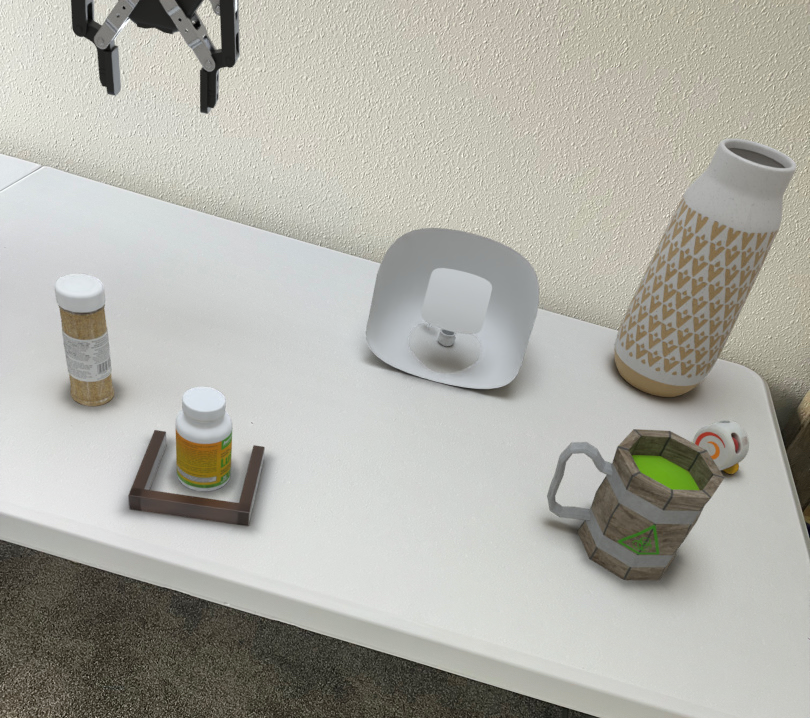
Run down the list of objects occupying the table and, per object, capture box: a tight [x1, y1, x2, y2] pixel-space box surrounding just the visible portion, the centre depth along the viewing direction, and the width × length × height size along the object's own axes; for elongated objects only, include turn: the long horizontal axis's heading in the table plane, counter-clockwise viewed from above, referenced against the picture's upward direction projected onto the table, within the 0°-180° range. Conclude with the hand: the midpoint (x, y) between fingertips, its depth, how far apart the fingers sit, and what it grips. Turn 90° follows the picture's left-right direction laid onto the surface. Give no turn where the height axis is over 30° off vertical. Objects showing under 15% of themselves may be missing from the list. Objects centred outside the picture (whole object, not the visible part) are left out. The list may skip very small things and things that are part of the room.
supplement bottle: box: [175, 386, 233, 492], centre depth 77 cm, size 5×5×10 cm
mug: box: [546, 428, 725, 581], centre depth 81 cm, size 16×11×12 cm
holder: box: [127, 429, 266, 527], centre depth 79 cm, size 11×10×2 cm
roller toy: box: [691, 419, 750, 475], centre depth 97 cm, size 4×6×6 cm
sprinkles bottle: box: [53, 273, 115, 407], centre depth 81 cm, size 5×5×13 cm
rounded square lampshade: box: [365, 227, 540, 390], centre depth 103 cm, size 20×19×12 cm
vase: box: [613, 137, 797, 398], centre depth 100 cm, size 14×14×31 cm
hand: (160, 101), depth 74 cm, fingers open, 8 cm apart
